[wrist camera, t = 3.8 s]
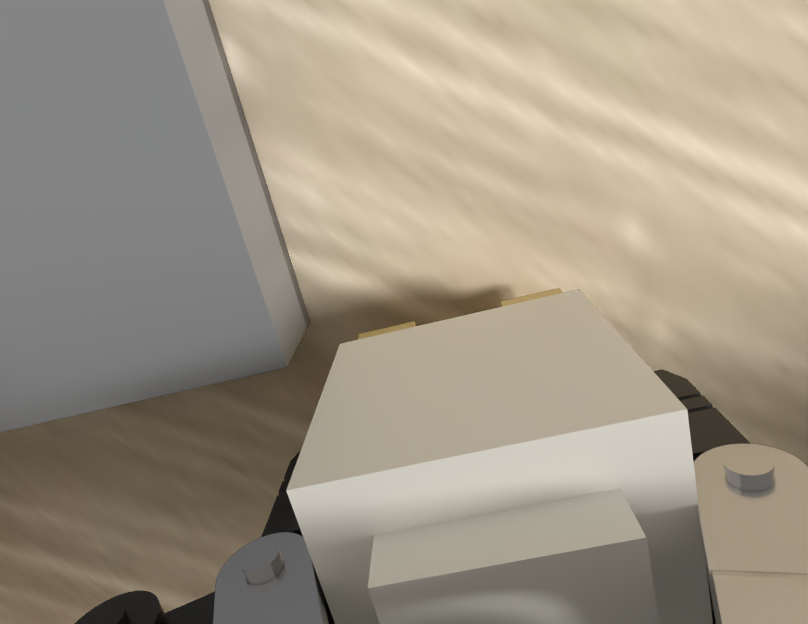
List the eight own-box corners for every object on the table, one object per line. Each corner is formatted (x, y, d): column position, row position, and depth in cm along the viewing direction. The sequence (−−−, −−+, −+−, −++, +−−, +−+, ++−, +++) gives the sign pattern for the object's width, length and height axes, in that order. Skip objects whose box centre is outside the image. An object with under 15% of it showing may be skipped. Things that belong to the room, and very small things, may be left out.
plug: (560, 268, 12) (724, 450, 5) (596, 470, 13) (759, 805, 7) (349, 317, 12) (268, 539, 6) (406, 507, 14) (391, 854, 7)
